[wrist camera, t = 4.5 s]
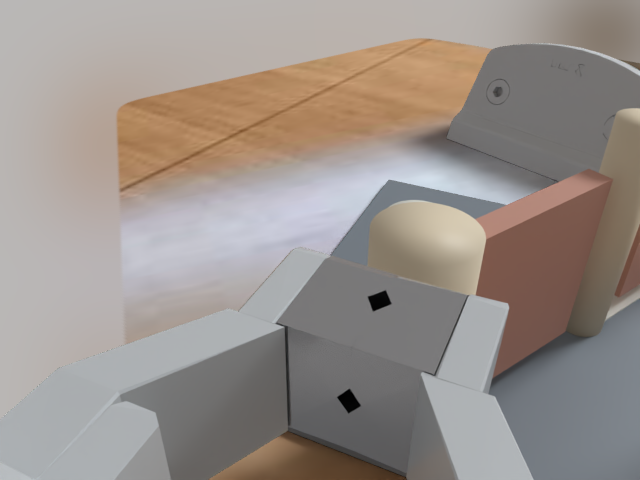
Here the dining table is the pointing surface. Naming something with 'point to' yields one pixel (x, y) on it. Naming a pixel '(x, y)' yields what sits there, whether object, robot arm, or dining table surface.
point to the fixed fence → (613, 231)
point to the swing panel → (501, 254)
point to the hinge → (546, 107)
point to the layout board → (548, 375)
